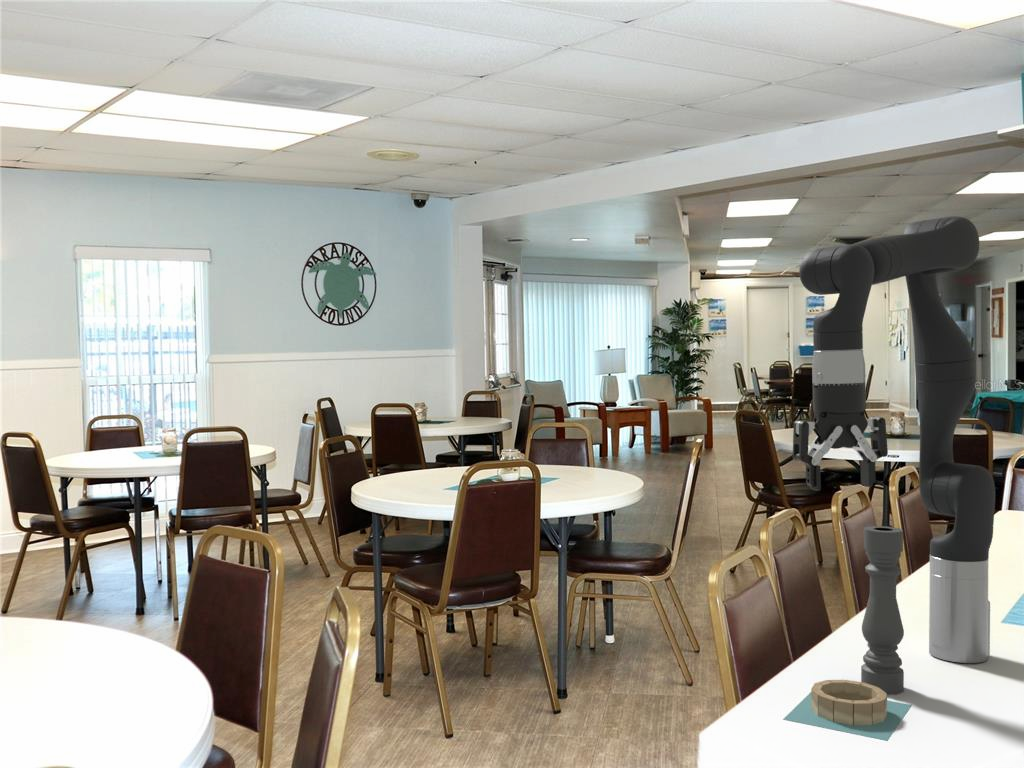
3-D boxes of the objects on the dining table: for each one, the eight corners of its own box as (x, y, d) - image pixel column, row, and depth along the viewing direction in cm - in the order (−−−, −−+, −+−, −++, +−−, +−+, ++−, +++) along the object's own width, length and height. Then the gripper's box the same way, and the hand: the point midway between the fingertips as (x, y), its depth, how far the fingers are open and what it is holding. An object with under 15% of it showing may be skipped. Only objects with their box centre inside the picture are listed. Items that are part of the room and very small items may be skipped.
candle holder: (877, 698, 145) (878, 533, 145) (852, 685, 151) (853, 526, 151) (912, 695, 147) (913, 531, 146) (886, 682, 153) (887, 525, 152)
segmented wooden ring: (842, 695, 145) (842, 675, 145) (900, 715, 137) (901, 694, 137) (797, 708, 140) (797, 687, 140) (855, 730, 132) (855, 708, 132)
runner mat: (815, 689, 149) (815, 687, 149) (911, 707, 141) (911, 704, 141) (783, 722, 136) (783, 719, 136) (887, 743, 128) (887, 740, 128)
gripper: (868, 377, 149) (870, 482, 150) (782, 381, 146) (785, 487, 147) (896, 379, 142) (898, 488, 142) (807, 383, 139) (809, 494, 140)
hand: (840, 488), depth 145 cm, fingers open, 8 cm apart
